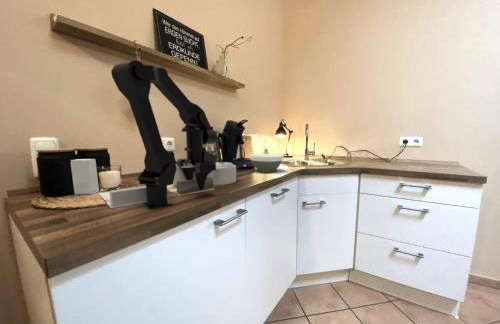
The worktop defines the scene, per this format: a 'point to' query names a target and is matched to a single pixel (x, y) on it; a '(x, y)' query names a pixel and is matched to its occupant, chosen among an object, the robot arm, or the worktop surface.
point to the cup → (178, 176)
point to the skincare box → (84, 176)
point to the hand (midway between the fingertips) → (195, 187)
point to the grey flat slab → (125, 196)
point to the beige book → (190, 187)
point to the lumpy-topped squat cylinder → (223, 174)
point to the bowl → (266, 162)
